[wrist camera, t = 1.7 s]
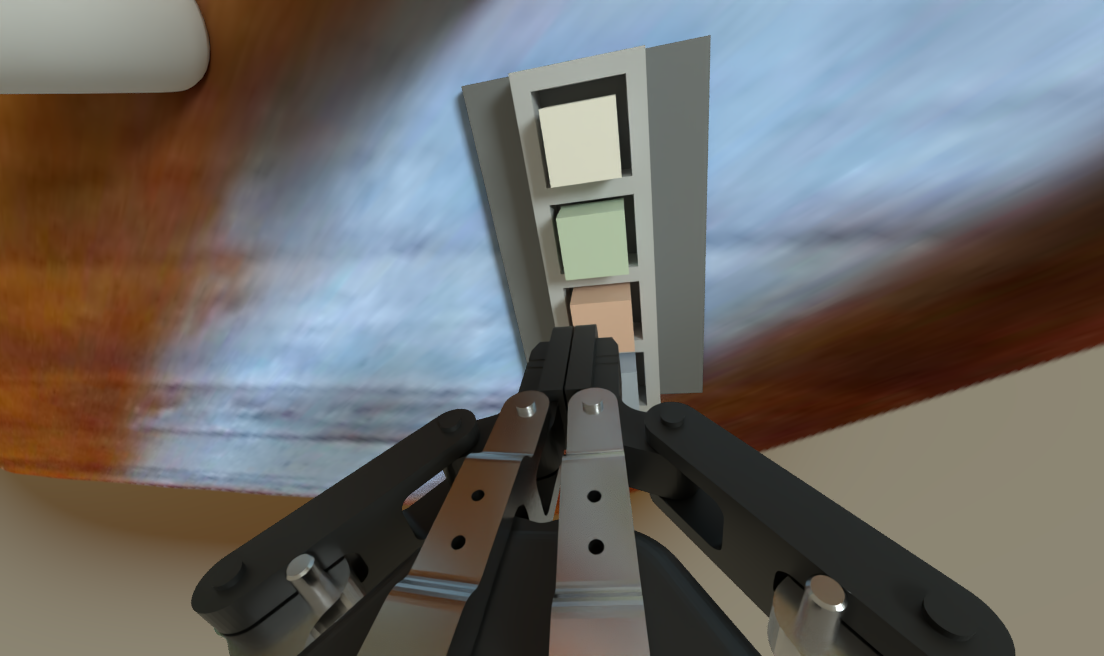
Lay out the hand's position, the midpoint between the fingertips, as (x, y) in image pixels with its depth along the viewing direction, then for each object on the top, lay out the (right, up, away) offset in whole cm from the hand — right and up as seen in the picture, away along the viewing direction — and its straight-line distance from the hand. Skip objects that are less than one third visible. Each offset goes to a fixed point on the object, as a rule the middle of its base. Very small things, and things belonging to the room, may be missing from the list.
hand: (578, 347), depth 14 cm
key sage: (+2, +7, +11) cm, 13 cm away
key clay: (+3, +2, +14) cm, 15 cm away
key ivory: (+1, +12, +9) cm, 14 cm away
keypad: (+3, +6, +15) cm, 16 cm away
